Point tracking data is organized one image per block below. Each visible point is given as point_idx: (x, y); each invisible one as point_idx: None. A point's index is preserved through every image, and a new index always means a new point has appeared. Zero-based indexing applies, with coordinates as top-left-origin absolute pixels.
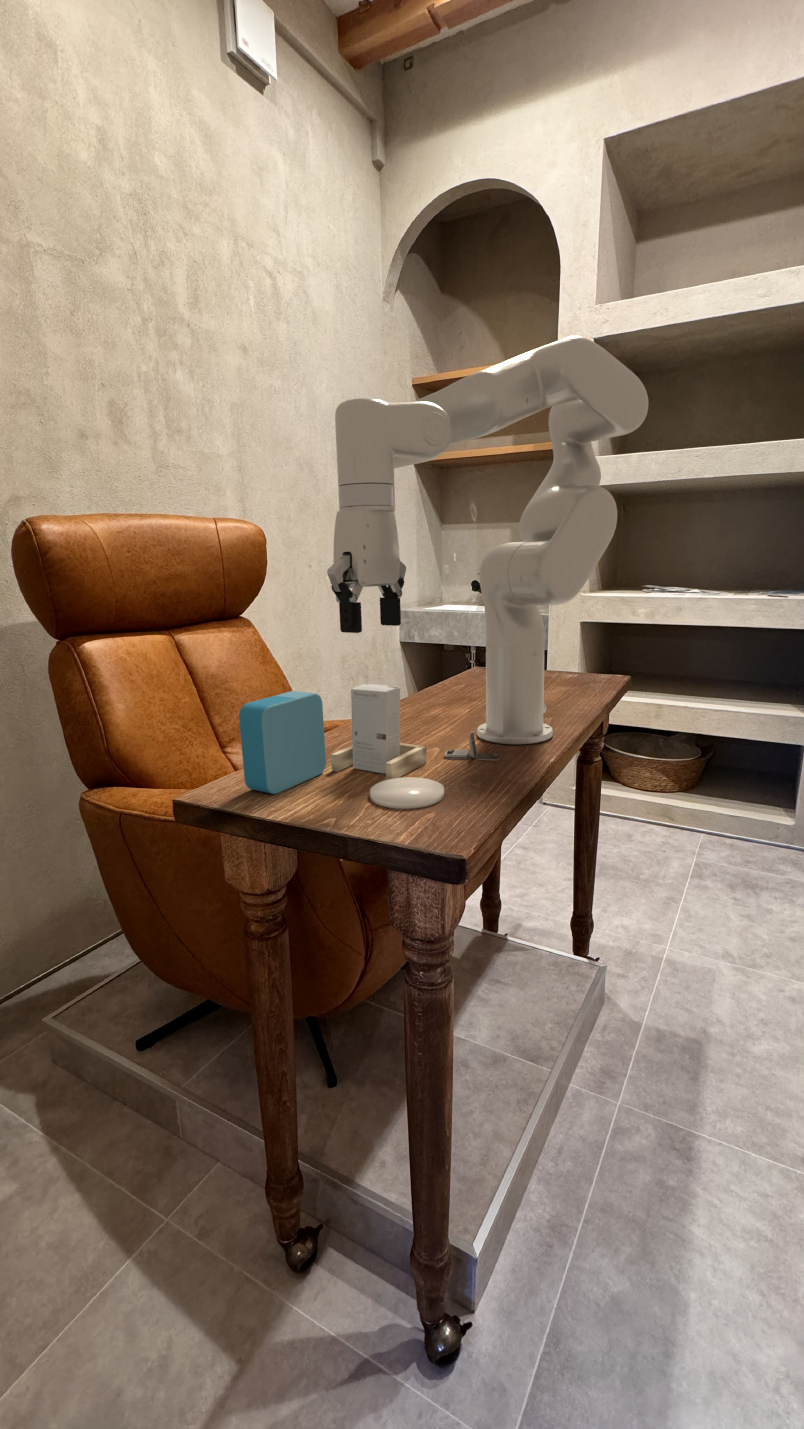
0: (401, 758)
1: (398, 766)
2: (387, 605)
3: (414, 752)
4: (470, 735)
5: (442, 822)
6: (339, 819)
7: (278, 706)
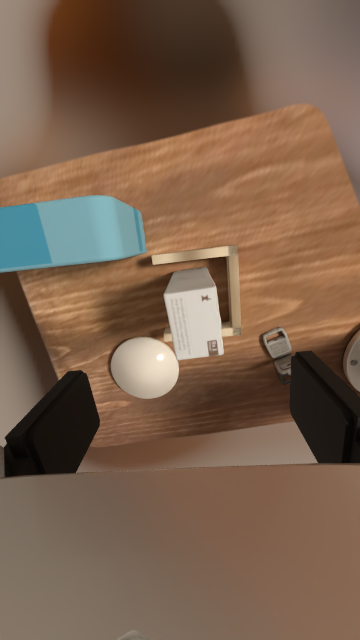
0: None
1: None
2: (323, 429)
3: None
4: (282, 373)
5: (118, 416)
6: (70, 354)
7: (10, 271)
